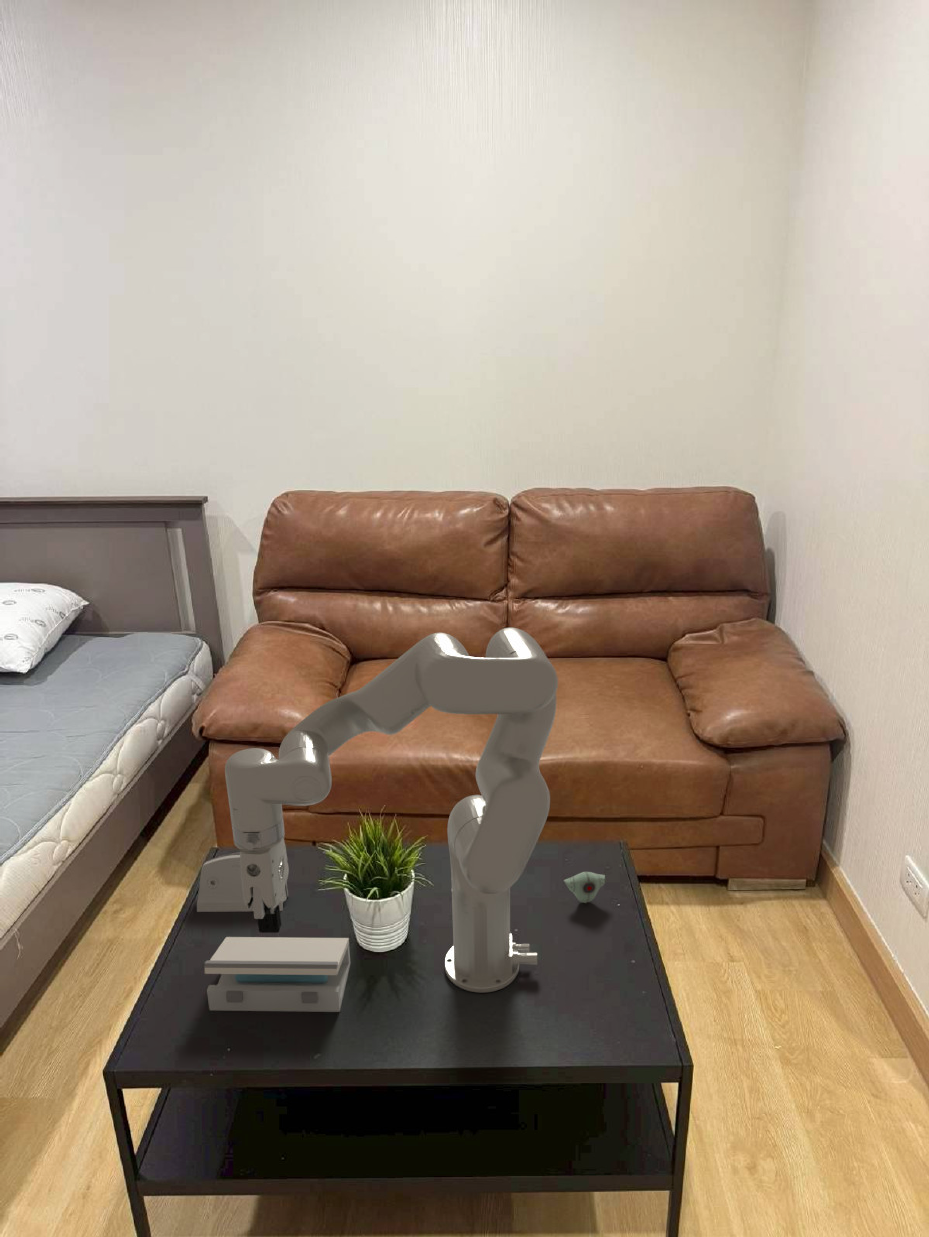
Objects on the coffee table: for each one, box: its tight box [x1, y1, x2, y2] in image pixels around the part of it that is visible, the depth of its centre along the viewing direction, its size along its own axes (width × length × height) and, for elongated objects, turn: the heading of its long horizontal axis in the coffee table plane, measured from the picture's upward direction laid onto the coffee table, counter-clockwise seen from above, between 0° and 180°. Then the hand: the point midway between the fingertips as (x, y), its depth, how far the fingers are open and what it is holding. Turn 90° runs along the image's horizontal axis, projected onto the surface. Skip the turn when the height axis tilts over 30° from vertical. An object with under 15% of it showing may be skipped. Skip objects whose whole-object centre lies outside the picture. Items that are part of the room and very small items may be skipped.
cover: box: [204, 936, 350, 975], centre depth 146 cm, size 21×11×2 cm, turn 88°
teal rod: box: [235, 974, 328, 983], centre depth 148 cm, size 15×1×1 cm, turn 88°
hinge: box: [196, 852, 289, 913], centre depth 169 cm, size 17×5×10 cm, turn 89°
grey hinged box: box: [206, 944, 351, 1013], centre depth 147 cm, size 21×12×4 cm, turn 88°
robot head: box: [563, 871, 606, 904], centre depth 166 cm, size 8×4×7 cm, turn 100°
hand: (270, 929), depth 141 cm, fingers closed
